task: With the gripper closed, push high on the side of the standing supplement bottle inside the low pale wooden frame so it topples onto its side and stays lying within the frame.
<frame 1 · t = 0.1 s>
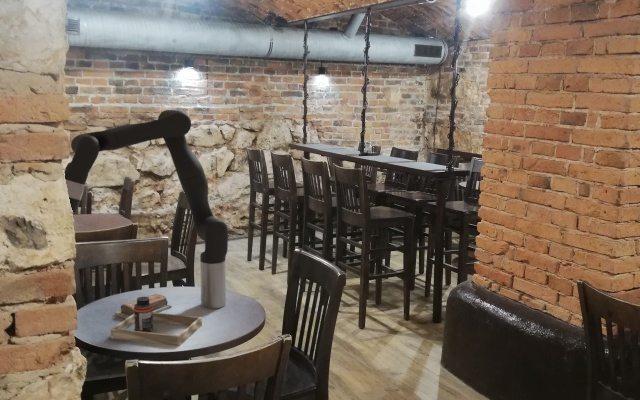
hand: (52, 244, 203), 31 cm above the table, tool tilted 20°, fingers open, 8 cm apart
supplement bottle: (144, 331, 216), resting in wooden frame
wooden frame: (157, 331, 215), on the table
packaged product: (143, 313, 234), on the table
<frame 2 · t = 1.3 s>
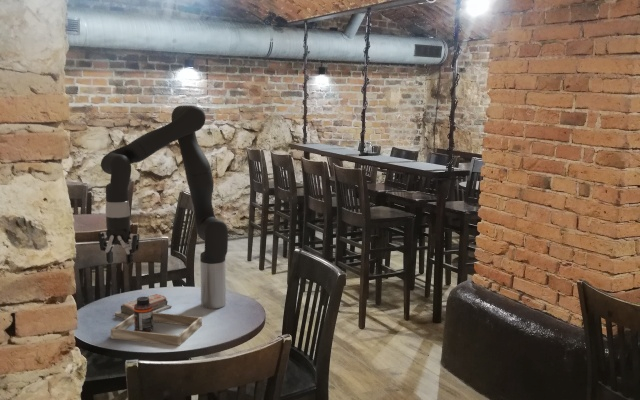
hand: (119, 263, 214), 23 cm above the table, tool pointing down, fingers open, 6 cm apart
nothing on the table moved.
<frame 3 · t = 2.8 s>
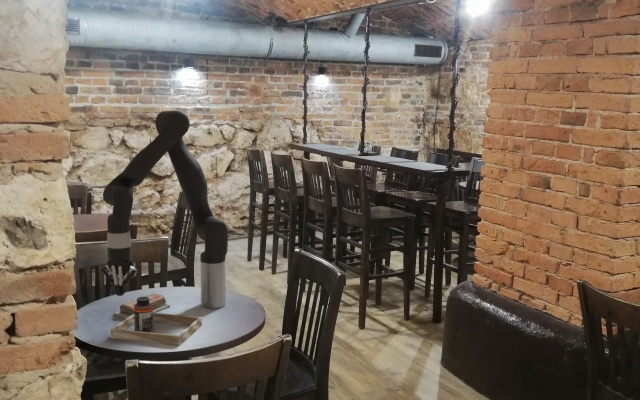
hand: (120, 295, 216), 12 cm above the table, tool pointing down, fingers closed
nothing on the table moved.
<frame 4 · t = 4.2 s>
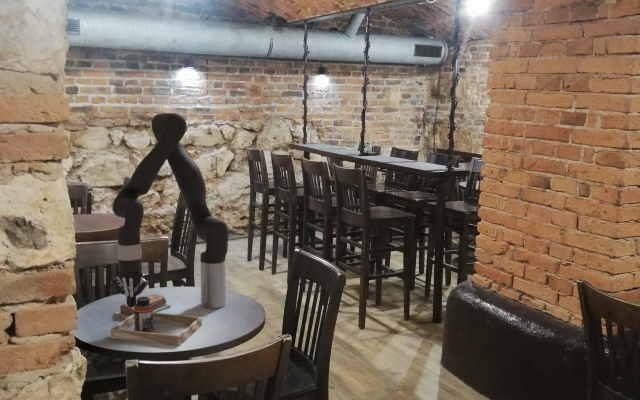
hand: (131, 306, 216), 8 cm above the table, tool pointing down, fingers closed
supplement bottle: (144, 330, 216), resting in wooden frame, touching gripper
everything else where it was.
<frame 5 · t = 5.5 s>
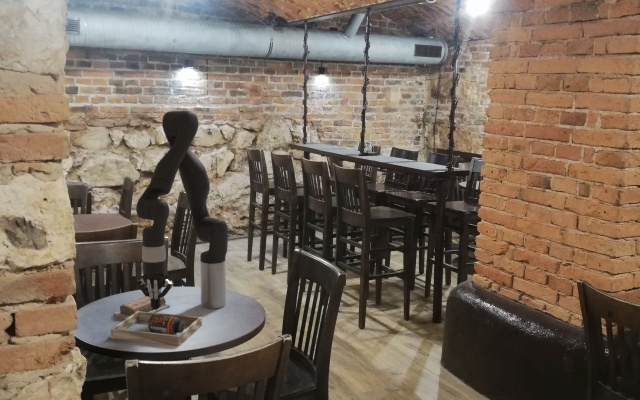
hand: (155, 308, 214), 8 cm above the table, tool pointing down, fingers closed
supplement bottle: (151, 322, 215), point 3 cm above the table
everything else where it was.
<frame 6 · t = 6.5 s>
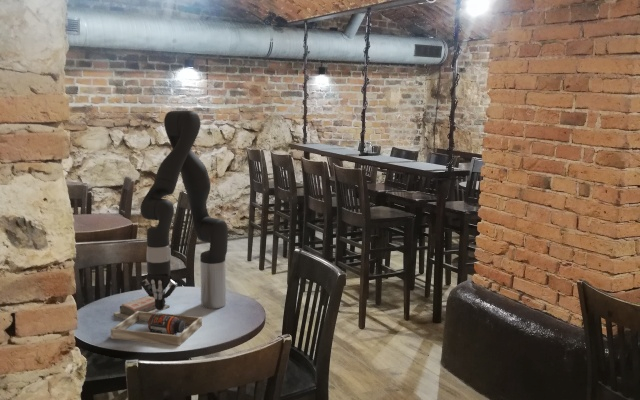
hand: (159, 309, 214), 8 cm above the table, tool pointing down, fingers closed
nothing on the table moved.
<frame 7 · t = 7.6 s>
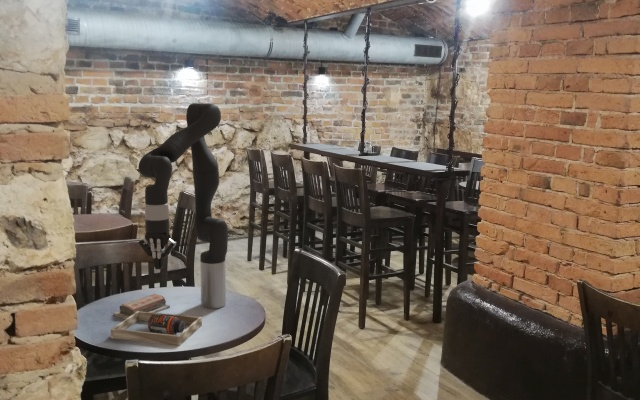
hand: (158, 268, 211), 22 cm above the table, tool pointing down, fingers closed
nothing on the table moved.
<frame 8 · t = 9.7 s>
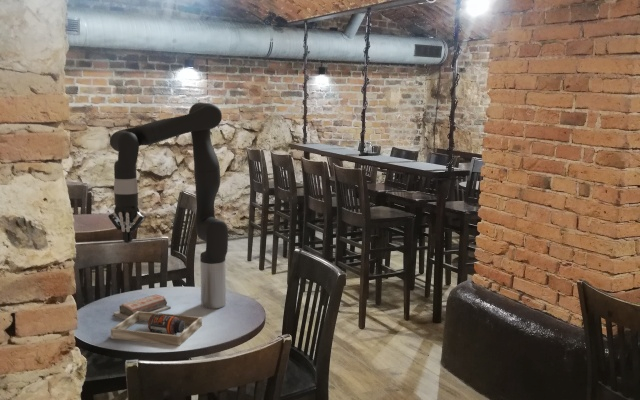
hand: (127, 242, 216), 29 cm above the table, tool pointing down, fingers closed
at the end: supplement bottle tilted 90°; supplement bottle inside the target area (2.8 cm from its centre), point 3.0 cm above the table; the gripper is holding nothing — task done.
